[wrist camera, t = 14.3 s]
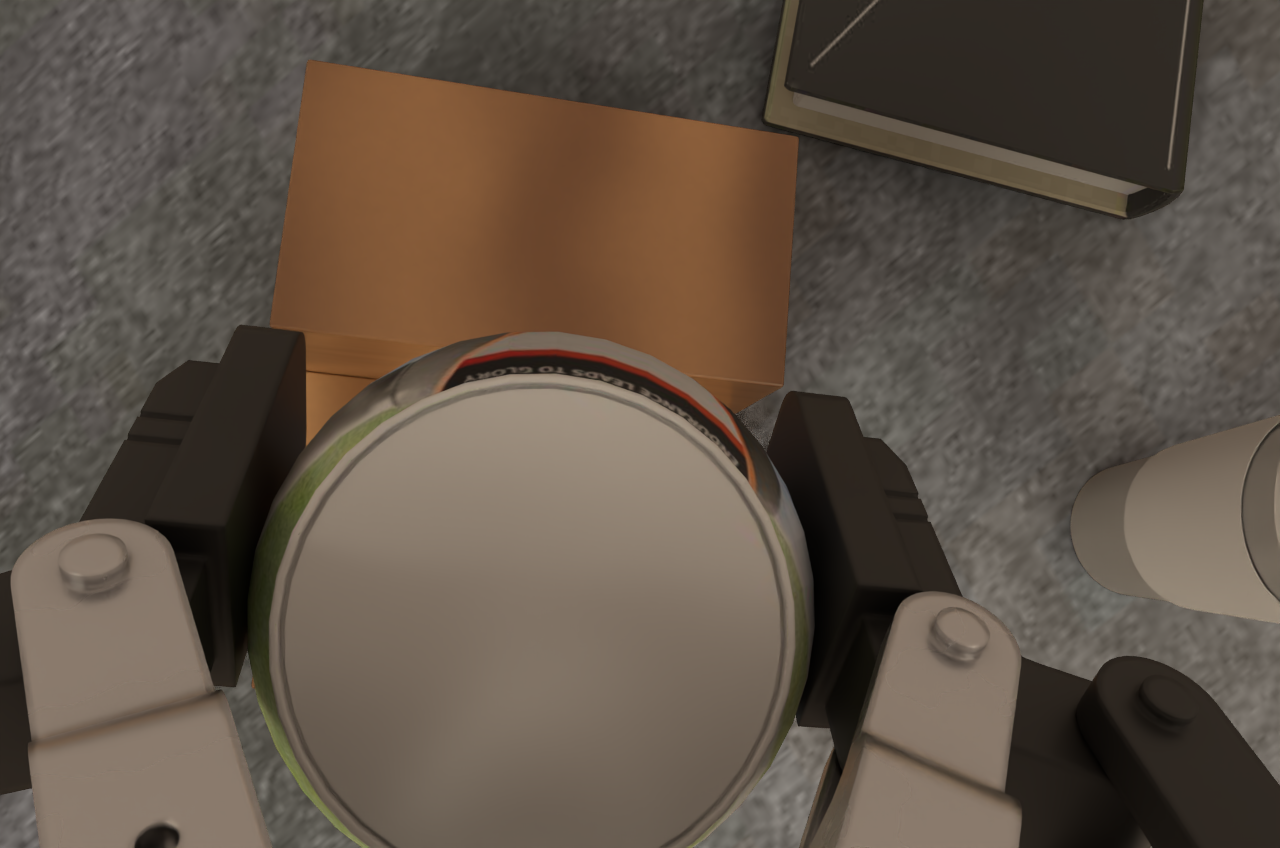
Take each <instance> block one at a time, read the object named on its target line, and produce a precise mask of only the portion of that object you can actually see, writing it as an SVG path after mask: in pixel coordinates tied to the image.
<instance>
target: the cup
mask: <svg viewBox="0 0 1280 848" xmlns="http://www.w3.org/2000/svg"><path fill="white" fill-rule="evenodd" d="M1071 537H1072V542H1073V546H1074V549H1075V552H1076V554H1077V557H1078V559H1079V560H1080V562H1081V564H1082V566H1083V567H1084V569H1085V570H1086V571H1087V572H1088V574H1089V575H1090V576H1091V577H1092V578H1093V579H1094V580H1095V581H1097V582H1098V583H1099V584H1100V585H1102V586H1103V587H1105V588H1107V589H1109V590H1111V591H1113V592H1116V593H1119V594H1123V595H1128V596H1135V597H1142V598H1148V599H1155V600H1162V601H1168V602H1171V603H1173V604H1175V605H1177V606H1180V607H1184V608H1188V609H1192V610H1198V611H1204V612H1210V613H1216V614H1223V615H1229V616H1235V617H1241V618H1248V619H1254V620H1260V621H1266V622H1273V623H1279V624H1280V415H1278V416H1274V417H1271V418H1267V419H1264V420H1260V421H1257V422H1253V423H1250V424H1247V425H1243V426H1240V427H1236V428H1233V429H1229V430H1226V431H1222V432H1219V433H1215V434H1212V435H1208V436H1205V437H1201V438H1198V439H1195V440H1191V441H1188V442H1184V443H1181V444H1177V445H1174V446H1172V447H1169V448H1167V449H1164V450H1161V451H1160V452H1159V453H1157V454H1156V455H1154V456H1150V457H1147V458H1143V459H1140V460H1136V461H1133V462H1129V463H1125V464H1122V465H1118V466H1115V467H1111V468H1108V469H1105V470H1103V471H1101V472H1099V473H1097V474H1096V475H1095V476H1093V477H1092V478H1091V479H1090V480H1089V481H1088V482H1087V483H1086V484H1085V485H1084V486H1083V487H1082V489H1081V490H1080V492H1079V494H1078V495H1077V498H1076V500H1075V503H1074V506H1073V509H1072V515H1071Z"/></svg>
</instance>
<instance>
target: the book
mask: <svg viewBox="0 0 1280 848" xmlns="http://www.w3.org/2000/svg"><path fill="white" fill-rule="evenodd" d="M1202 10H1203V0H783V5H782V10H781V16H780V22H779V27H778V33H777V38H776V44H775V49H774V55H773V60H772V66H771V71H770V77H769V82H768V88H767V93H766V99H765V104H764V110H763V115H762V122H763V123H764V124H765V125H768V126H771V127H775V128H779V129H783V130H787V131H790V132H794V133H798V134H802V135H805V136H809V137H813V138H817V139H821V140H824V141H828V142H832V143H836V144H839V145H843V146H847V147H851V148H855V149H858V150H862V151H866V152H870V153H873V154H877V155H881V156H885V157H889V158H892V159H896V160H900V161H904V162H907V163H911V164H915V165H919V166H923V167H926V168H930V169H934V170H938V171H942V172H945V173H949V174H953V175H957V176H960V177H964V178H968V179H972V180H976V181H979V182H983V183H987V184H991V185H994V186H998V187H1002V188H1006V189H1010V190H1013V191H1017V192H1021V193H1025V194H1028V195H1032V196H1036V197H1040V198H1044V199H1047V200H1051V201H1055V202H1059V203H1063V204H1066V205H1070V206H1074V207H1078V208H1081V209H1085V210H1089V211H1093V212H1097V213H1100V214H1104V215H1108V216H1112V217H1115V218H1119V219H1132V218H1136V217H1140V216H1143V215H1145V214H1148V213H1151V212H1154V211H1156V210H1158V209H1160V208H1163V207H1164V206H1166V205H1168V204H1170V203H1171V202H1172V201H1174V200H1175V199H1176V198H1178V197H1179V195H1180V194H1181V193H1182V191H1183V190H1184V182H1185V172H1186V163H1187V153H1188V144H1189V134H1190V125H1191V115H1192V106H1193V96H1194V86H1195V77H1196V67H1197V58H1198V48H1199V39H1200V29H1201V20H1202Z"/></svg>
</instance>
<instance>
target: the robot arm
mask: <svg viewBox="0 0 1280 848" xmlns="http://www.w3.org/2000/svg"><path fill="white" fill-rule="evenodd" d="M306 433H307V426H306V342H305V336H304V333H303V332H299V331H290V330H282V329H274V328H265V327H257V326H248V325H239V326H238V327H237V328H236V330H235V332H234V334H233V336H232V338H231V340H230V343H229V345H228V347H227V349H226V351H225V353H224V355H223V357H222V359H221V361H220V363H210V362H201V361H192V360H188V361H187V362H185V363H184V364H182V365H181V366H179V367H178V368H177V369H175V370H174V371H172V372H171V373H170V374H168V375H167V376H165V377H164V378H162V379H161V380H160V381H158V382H157V383H156V384H155V386H154V388H153V390H152V392H151V393H150V395H149V397H148V399H147V401H146V402H145V404H144V406H143V408H142V410H141V415H140V417H137V419H136V420H135V422H134V424H133V426H132V428H131V429H130V431H129V433H128V439H127V440H124V442H123V444H122V446H121V447H120V449H119V451H118V453H117V455H116V456H115V458H114V460H113V462H112V464H111V465H110V467H109V469H108V471H107V473H106V474H105V476H104V478H103V480H102V482H101V483H100V485H99V487H98V489H97V491H96V492H95V494H94V496H93V498H92V500H91V501H90V503H89V505H88V507H87V509H86V511H85V512H84V514H83V516H82V518H81V520H80V521H79V522H78V523H73V524H70V525H67V526H64V527H61V528H59V529H56V530H54V531H52V532H50V533H48V534H46V535H44V536H43V537H41V538H40V539H38V540H37V541H35V542H34V543H33V544H32V545H30V546H29V547H28V548H27V549H26V550H25V551H24V552H23V553H22V554H21V556H20V557H19V558H18V560H17V561H16V563H15V565H14V567H13V570H11V571H8V572H4V573H1V574H0V795H2V794H7V793H12V792H16V791H21V790H25V789H30V788H32V790H33V798H34V805H35V813H36V820H37V828H38V836H39V843H40V848H272V845H271V841H270V838H269V835H268V831H267V828H266V825H265V822H264V818H263V815H262V812H261V808H260V805H259V802H258V799H257V795H256V792H255V789H254V785H253V782H252V779H251V776H250V772H249V769H248V766H247V762H246V759H245V756H244V752H243V749H242V746H241V743H240V739H239V736H238V733H237V729H236V726H235V723H234V720H233V716H232V713H231V710H230V707H229V704H228V701H227V699H226V696H225V694H224V692H223V691H222V690H217V691H215V688H214V686H226V687H236V685H237V682H238V678H239V675H240V672H241V669H242V666H243V662H244V659H245V656H246V653H247V650H248V627H247V599H248V592H249V586H250V579H251V573H252V567H253V561H254V555H255V549H256V546H257V544H258V541H259V538H260V535H261V532H262V530H263V527H264V524H265V521H266V518H267V516H268V513H269V510H270V507H271V504H272V502H273V499H274V498H275V496H276V494H277V492H278V491H279V489H280V487H281V485H282V484H283V482H284V480H285V478H286V477H287V475H288V473H289V471H290V470H291V468H292V466H293V464H294V463H295V461H296V459H297V457H298V456H299V455H300V453H301V452H302V451H303V450H304V449H305V447H306ZM766 453H767V455H768V456H769V458H770V460H771V461H772V463H773V465H774V466H775V468H776V470H777V471H778V473H779V475H780V476H781V478H782V480H783V481H784V483H785V485H786V486H787V489H788V491H789V494H790V497H791V499H792V502H793V504H794V507H795V509H796V512H797V515H798V517H799V520H800V522H801V525H802V528H803V530H804V533H805V538H806V543H807V548H808V553H809V558H810V563H811V568H812V573H813V578H814V610H815V631H814V638H813V645H812V652H811V659H810V665H809V672H808V678H807V681H806V684H805V687H804V690H803V693H802V696H801V699H800V702H799V706H798V709H797V712H796V719H797V723H798V726H803V727H818V728H830V730H831V734H832V738H833V742H834V747H833V749H832V752H831V754H830V756H829V758H828V760H827V763H826V765H825V767H824V770H823V773H822V776H821V780H820V783H819V786H818V789H817V792H816V795H815V798H814V802H813V805H812V808H811V811H810V814H809V817H808V821H807V824H806V827H805V830H804V833H803V836H802V839H801V843H800V846H799V848H1150V847H1151V846H1152V848H1280V785H1279V784H1278V783H1277V781H1276V780H1275V779H1274V777H1273V776H1272V775H1271V773H1270V772H1269V771H1268V770H1267V768H1266V767H1265V766H1264V764H1263V763H1262V762H1261V760H1260V759H1259V758H1258V757H1257V755H1256V754H1255V753H1254V751H1253V750H1252V749H1251V747H1250V746H1249V745H1248V744H1247V742H1246V741H1245V740H1244V738H1243V737H1242V736H1241V734H1240V733H1239V732H1238V731H1237V729H1236V728H1235V727H1234V725H1233V724H1232V723H1231V721H1230V720H1229V719H1228V718H1227V716H1226V715H1225V714H1224V712H1223V711H1222V710H1221V708H1220V707H1219V706H1218V705H1217V703H1216V702H1215V701H1214V700H1213V699H1212V698H1211V696H1210V695H1209V694H1208V693H1207V692H1206V691H1205V690H1203V689H1202V688H1201V687H1200V686H1199V685H1198V684H1196V683H1195V682H1194V681H1193V680H1191V679H1190V678H1188V677H1187V676H1185V675H1184V674H1182V673H1181V672H1179V671H1177V670H1175V669H1173V668H1171V667H1170V666H1167V665H1165V664H1162V663H1160V662H1158V661H1154V660H1151V659H1148V658H1143V657H1137V656H1122V657H1117V658H1114V659H1111V660H1109V661H1108V662H1106V663H1105V664H1104V665H1103V666H1102V667H1101V668H1100V670H1099V671H1098V673H1097V675H1096V676H1095V678H1094V679H1093V681H1089V680H1087V679H1084V678H1081V677H1078V676H1075V675H1072V674H1069V673H1066V672H1063V671H1060V670H1057V669H1054V668H1051V667H1048V666H1045V665H1042V664H1039V663H1036V662H1034V661H1031V660H1029V659H1026V658H1024V657H1022V656H1021V653H1020V649H1019V646H1018V644H1017V642H1016V639H1015V638H1014V636H1013V635H1012V633H1011V632H1010V630H1009V629H1008V628H1007V627H1006V626H1005V625H1004V623H1003V622H1002V621H1000V620H999V619H998V618H997V617H996V616H995V615H994V614H992V613H991V612H990V611H988V610H987V609H985V608H984V607H982V606H980V605H979V604H977V603H975V602H973V601H971V600H969V599H966V598H964V597H962V594H961V592H960V590H959V587H958V585H957V583H956V580H955V578H954V576H953V573H952V571H951V569H950V566H949V564H948V562H947V559H946V557H945V555H944V552H943V550H942V548H941V545H940V543H939V541H938V538H937V536H936V534H935V531H934V529H933V527H932V524H931V522H928V521H927V518H928V515H927V513H926V510H925V508H924V506H923V503H922V501H921V499H918V491H917V489H916V487H915V484H914V482H913V480H912V477H911V475H910V473H909V470H908V468H907V466H906V464H905V463H904V462H903V461H902V460H901V459H900V458H899V457H898V456H897V455H896V454H895V453H894V452H893V451H892V450H891V449H890V448H889V447H888V446H887V445H886V444H885V443H884V442H883V441H882V440H881V439H877V438H868V437H863V435H862V432H861V430H860V427H859V424H858V422H857V419H856V417H855V414H854V412H853V409H852V406H851V404H850V402H849V400H848V399H847V398H845V397H840V396H831V395H823V394H814V393H806V392H797V391H790V392H789V393H788V394H787V395H786V396H785V398H784V400H783V402H782V405H781V408H780V411H779V414H778V417H777V420H776V424H775V427H774V430H773V433H772V436H771V439H770V442H769V446H768V449H767V452H766Z"/></svg>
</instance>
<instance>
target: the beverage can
mask: <svg viewBox="0 0 1280 848" xmlns="http://www.w3.org/2000/svg"><path fill="white" fill-rule="evenodd" d="M247 627H248V654H249V659H250V664H251V669H252V674H253V679H254V684H255V690H256V695H257V700H258V703H259V706H260V708H261V711H262V713H263V716H264V718H265V721H266V723H267V726H268V728H269V731H270V734H271V736H272V739H273V741H274V744H275V746H276V749H277V750H278V752H279V753H280V755H281V757H282V758H283V760H284V762H285V763H286V765H287V766H288V768H289V770H290V771H291V773H292V774H293V776H294V778H295V779H296V781H297V782H298V784H299V786H300V787H301V789H302V790H303V792H304V793H305V794H306V795H307V796H308V797H309V798H310V799H311V801H312V802H313V803H314V804H315V805H316V806H317V807H318V808H319V809H320V810H321V812H322V813H323V814H324V815H325V816H326V817H327V818H328V819H329V820H330V821H331V823H332V824H333V825H334V826H335V827H336V828H337V829H338V830H340V831H341V832H342V833H344V834H345V835H346V836H347V837H349V838H350V839H351V840H353V841H354V842H355V843H357V844H358V845H359V846H361V847H362V848H692V847H693V846H695V845H696V844H698V843H699V842H701V841H703V840H704V839H705V838H706V837H707V836H708V835H709V834H711V833H712V832H713V831H714V830H715V829H716V828H717V827H718V826H719V825H720V824H721V823H722V822H723V821H724V820H726V819H727V818H728V817H729V816H730V815H731V814H732V813H733V812H734V811H735V810H736V809H737V808H738V807H739V806H740V805H741V804H742V803H743V802H744V800H745V799H746V798H747V796H748V795H749V794H750V792H751V791H752V790H753V788H754V787H755V786H756V784H757V783H758V782H759V780H760V779H761V778H762V777H763V775H764V774H765V773H766V771H767V770H768V769H769V767H770V766H771V764H772V762H773V760H774V758H775V756H776V754H777V752H778V750H779V749H780V747H781V745H782V743H783V741H784V739H785V737H786V735H787V733H788V731H789V729H790V727H791V726H792V724H793V721H794V718H795V715H796V712H797V709H798V706H799V702H800V699H801V696H802V693H803V690H804V687H805V684H806V681H807V678H808V672H809V665H810V659H811V652H812V645H813V638H814V631H815V610H814V578H813V573H812V568H811V563H810V558H809V553H808V548H807V543H806V538H805V533H804V530H803V528H802V525H801V522H800V520H799V517H798V515H797V512H796V509H795V507H794V504H793V502H792V499H791V497H790V494H789V491H788V489H787V486H786V485H785V483H784V481H783V480H782V478H781V476H780V475H779V473H778V471H777V470H776V468H775V466H774V465H773V463H772V461H771V460H770V458H769V456H768V455H767V453H766V451H765V450H764V448H763V447H762V445H761V444H760V443H759V442H758V440H757V439H756V438H755V437H754V436H753V435H752V433H751V432H750V431H749V430H748V429H747V428H746V427H745V425H744V424H743V423H742V422H741V421H740V420H739V418H738V417H737V416H736V415H735V414H734V413H733V412H732V410H731V409H730V408H728V407H727V406H726V405H725V404H723V403H722V402H721V401H720V400H719V399H717V398H716V397H715V396H714V395H712V394H711V393H710V392H709V391H707V390H706V389H705V388H704V387H703V386H701V385H700V384H699V383H698V382H696V381H695V380H694V379H692V378H691V377H689V376H687V375H685V374H683V373H682V372H680V371H678V370H676V369H675V368H673V367H671V366H669V365H667V364H666V363H664V362H662V361H660V360H658V359H657V358H655V357H653V356H651V355H648V354H646V353H643V352H640V351H637V350H634V349H631V348H628V347H625V346H623V345H620V344H617V343H614V342H611V341H608V340H605V339H599V338H593V337H587V336H581V335H575V334H569V333H563V332H507V333H501V334H496V335H490V336H485V337H480V338H474V339H469V340H464V341H459V342H456V343H454V344H451V345H448V346H446V347H443V348H440V349H437V350H435V351H432V352H429V353H427V354H424V355H421V356H419V357H416V358H413V359H411V360H410V361H408V362H406V363H405V364H403V365H401V366H399V367H398V368H396V369H394V370H393V371H391V372H389V373H388V374H386V375H384V376H382V377H381V378H379V379H377V380H376V381H374V382H372V383H370V384H369V385H368V386H367V387H365V388H364V389H363V390H362V391H361V392H360V393H358V394H357V395H356V396H355V397H354V398H352V399H351V400H350V401H349V402H348V403H347V404H345V405H344V406H343V407H342V408H341V409H339V410H338V411H337V412H336V413H335V414H334V415H332V416H331V417H330V418H329V420H328V421H327V422H326V423H325V424H324V426H323V427H322V428H321V429H320V430H319V432H318V433H317V434H316V435H315V436H314V438H313V439H312V440H311V441H310V443H309V444H308V445H307V446H306V447H305V449H304V450H303V451H302V452H301V453H300V455H299V456H298V457H297V459H296V461H295V463H294V464H293V466H292V468H291V470H290V471H289V473H288V475H287V477H286V478H285V480H284V482H283V484H282V485H281V487H280V489H279V491H278V492H277V494H276V496H275V498H274V499H273V502H272V504H271V507H270V510H269V513H268V516H267V518H266V521H265V524H264V527H263V530H262V532H261V535H260V538H259V541H258V544H257V546H256V549H255V555H254V561H253V567H252V573H251V579H250V586H249V592H248V599H247Z"/></svg>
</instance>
